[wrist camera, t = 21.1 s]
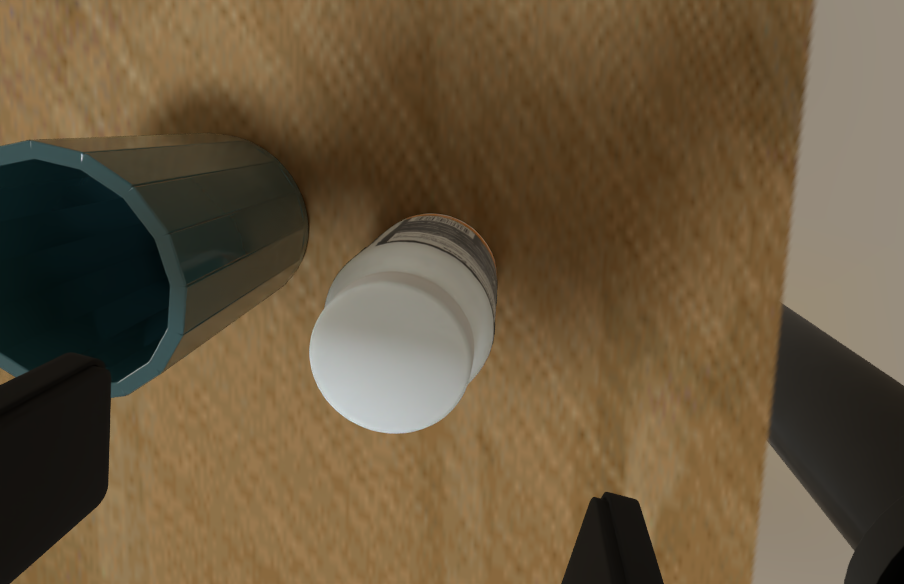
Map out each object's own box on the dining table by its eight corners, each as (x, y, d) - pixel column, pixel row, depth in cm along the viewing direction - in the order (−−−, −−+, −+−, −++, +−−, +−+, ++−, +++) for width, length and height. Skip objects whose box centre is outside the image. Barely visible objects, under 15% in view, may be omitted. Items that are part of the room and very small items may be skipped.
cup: (319, 155, 24) (193, 177, 15) (297, 316, 26) (176, 426, 17) (152, 116, 24) (-80, 114, 15) (144, 279, 27) (-59, 367, 17)
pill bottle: (424, 354, 26) (374, 484, 17) (347, 258, 25) (248, 339, 16) (523, 287, 25) (530, 389, 15) (446, 182, 24) (403, 222, 14)
